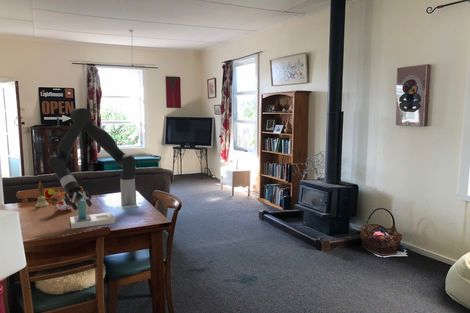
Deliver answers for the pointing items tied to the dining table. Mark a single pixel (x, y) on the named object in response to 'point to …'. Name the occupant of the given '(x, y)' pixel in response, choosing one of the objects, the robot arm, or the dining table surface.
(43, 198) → the hand bell
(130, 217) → the dining table surface
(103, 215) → the well board
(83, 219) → the slate pad
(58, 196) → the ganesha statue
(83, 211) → the teal block
